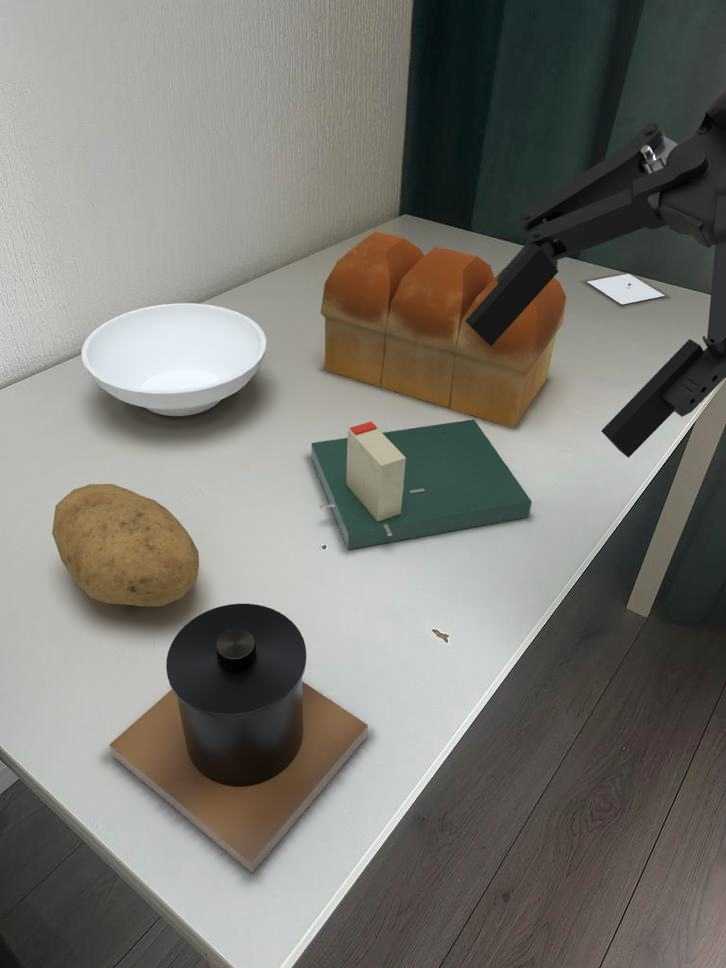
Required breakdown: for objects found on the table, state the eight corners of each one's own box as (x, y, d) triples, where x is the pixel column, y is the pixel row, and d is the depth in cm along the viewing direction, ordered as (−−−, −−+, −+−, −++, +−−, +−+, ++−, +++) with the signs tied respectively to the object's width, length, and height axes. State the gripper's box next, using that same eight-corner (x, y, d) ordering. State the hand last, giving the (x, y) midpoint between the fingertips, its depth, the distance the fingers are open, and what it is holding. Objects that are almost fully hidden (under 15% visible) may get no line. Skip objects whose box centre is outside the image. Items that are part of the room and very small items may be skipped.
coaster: (586, 281, 115) (587, 276, 115) (628, 273, 118) (630, 268, 118) (621, 304, 110) (623, 299, 109) (665, 295, 113) (666, 290, 112)
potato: (144, 663, 59) (128, 592, 54) (37, 577, 66) (13, 506, 61) (236, 591, 65) (229, 522, 60) (130, 519, 72) (115, 450, 67)
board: (367, 736, 55) (368, 724, 54) (252, 873, 48) (251, 862, 47) (234, 647, 61) (232, 634, 60) (112, 756, 53) (108, 744, 52)
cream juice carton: (401, 513, 71) (406, 455, 66) (377, 522, 70) (381, 463, 65) (368, 477, 75) (371, 419, 70) (346, 484, 74) (347, 426, 69)
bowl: (184, 337, 98) (178, 287, 94) (303, 390, 90) (303, 337, 85) (55, 404, 86) (41, 350, 81) (180, 472, 77) (172, 416, 73)
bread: (320, 369, 93) (320, 252, 84) (367, 327, 102) (372, 216, 93) (517, 431, 85) (542, 308, 76) (550, 379, 94) (576, 263, 84)
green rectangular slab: (533, 524, 73) (537, 507, 72) (334, 561, 68) (334, 544, 67) (471, 434, 84) (474, 417, 83) (296, 460, 80) (295, 443, 78)
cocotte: (333, 728, 54) (335, 638, 48) (242, 817, 49) (231, 730, 43) (247, 661, 58) (239, 571, 52) (155, 737, 53) (134, 647, 47)
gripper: (1039, 214, 37) (712, 530, 41) (667, 92, 54) (461, 325, 58) (1042, 103, 32) (666, 479, 36) (628, 7, 49) (405, 269, 53)
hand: (539, 384), depth 47 cm, fingers open, 13 cm apart
